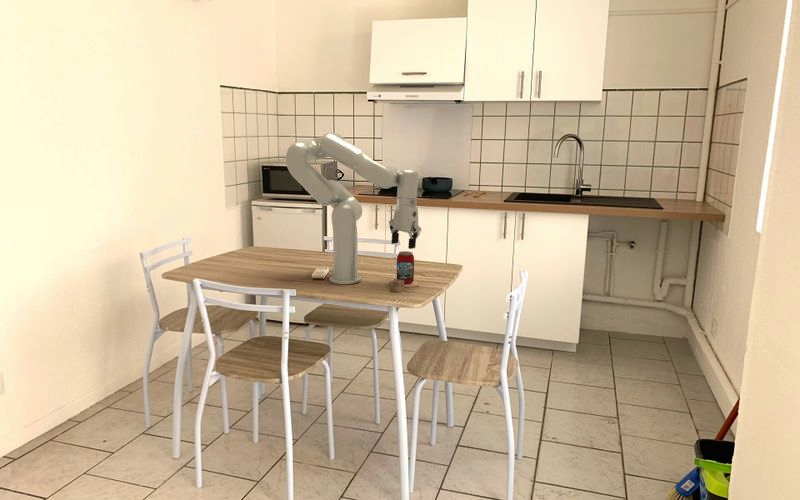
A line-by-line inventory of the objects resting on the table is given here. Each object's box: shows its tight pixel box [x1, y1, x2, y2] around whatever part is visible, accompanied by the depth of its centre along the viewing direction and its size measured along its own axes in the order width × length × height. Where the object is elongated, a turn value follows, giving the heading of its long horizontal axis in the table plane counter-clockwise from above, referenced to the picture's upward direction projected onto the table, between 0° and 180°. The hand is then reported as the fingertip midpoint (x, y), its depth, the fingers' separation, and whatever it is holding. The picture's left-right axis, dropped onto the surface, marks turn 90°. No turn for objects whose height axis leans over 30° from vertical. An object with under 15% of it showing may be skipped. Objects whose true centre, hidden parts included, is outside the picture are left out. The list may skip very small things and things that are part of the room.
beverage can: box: [396, 250, 415, 284], centre depth 231 cm, size 7×7×12 cm
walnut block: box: [389, 278, 405, 294], centre depth 223 cm, size 4×4×4 cm
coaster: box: [404, 280, 419, 289], centre depth 232 cm, size 10×10×1 cm
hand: (403, 245), depth 230 cm, fingers open, 9 cm apart
